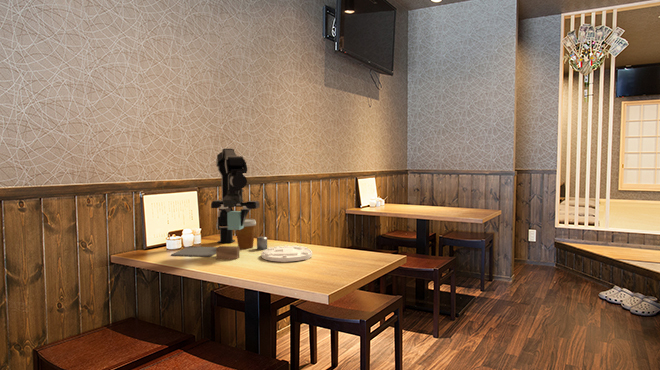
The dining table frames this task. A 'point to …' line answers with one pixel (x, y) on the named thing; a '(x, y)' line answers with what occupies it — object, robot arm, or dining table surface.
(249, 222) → the disposable coffee cup
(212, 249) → the slate mat
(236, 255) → the walnut block
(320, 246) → the dining table surface
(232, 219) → the teal block
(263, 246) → the metal canister
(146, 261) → the dining table surface
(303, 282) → the dining table surface
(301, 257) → the white round plaque
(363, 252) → the dining table surface
